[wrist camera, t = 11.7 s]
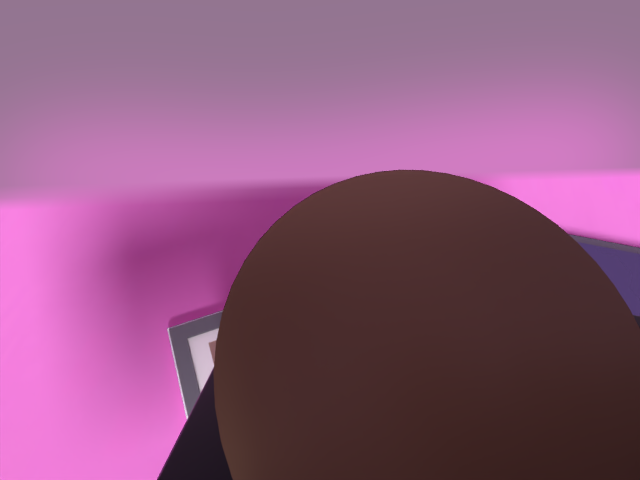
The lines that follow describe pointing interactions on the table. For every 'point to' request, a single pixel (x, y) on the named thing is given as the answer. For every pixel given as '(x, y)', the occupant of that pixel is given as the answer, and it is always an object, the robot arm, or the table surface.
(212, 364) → the marked square
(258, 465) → the stamp
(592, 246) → the ink pad
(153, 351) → the table surface
